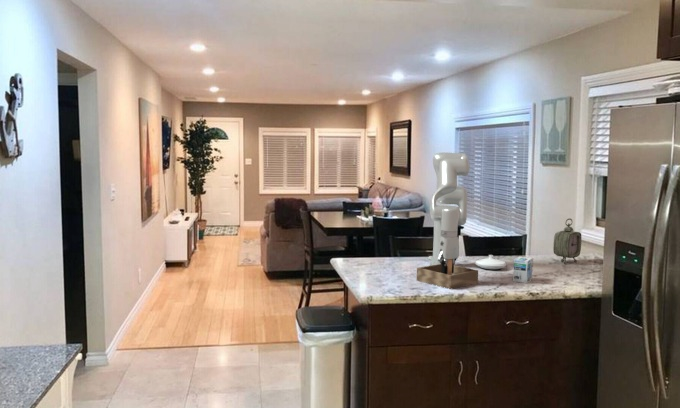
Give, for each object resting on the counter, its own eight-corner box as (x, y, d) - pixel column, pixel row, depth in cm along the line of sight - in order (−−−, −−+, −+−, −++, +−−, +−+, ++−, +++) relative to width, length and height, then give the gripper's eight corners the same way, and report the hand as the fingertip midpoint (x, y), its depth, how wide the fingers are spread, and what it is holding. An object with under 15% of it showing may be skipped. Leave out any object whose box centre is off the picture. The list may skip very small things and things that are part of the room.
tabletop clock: (566, 265, 313) (569, 220, 310) (551, 262, 320) (554, 218, 317) (580, 262, 322) (583, 218, 319) (565, 259, 329) (567, 216, 326)
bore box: (416, 280, 267) (417, 267, 267) (444, 275, 280) (444, 263, 280) (450, 289, 252) (450, 275, 252) (477, 283, 265) (478, 270, 264)
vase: (511, 271, 295) (512, 257, 294) (484, 272, 290) (485, 258, 289) (495, 264, 310) (496, 252, 309) (469, 265, 305) (470, 252, 304)
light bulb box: (526, 283, 267) (528, 261, 266) (512, 281, 270) (513, 259, 269) (532, 279, 276) (533, 257, 275) (518, 277, 279) (519, 255, 278)
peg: (440, 279, 266) (441, 258, 265) (446, 278, 269) (447, 257, 268) (447, 281, 263) (448, 259, 262) (453, 280, 266) (454, 258, 265)
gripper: (443, 236, 256) (442, 277, 258) (466, 234, 267) (465, 272, 268) (430, 234, 262) (429, 273, 263) (454, 231, 272) (452, 269, 274)
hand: (447, 272), depth 266 cm, fingers closed on peg, 3 cm apart
